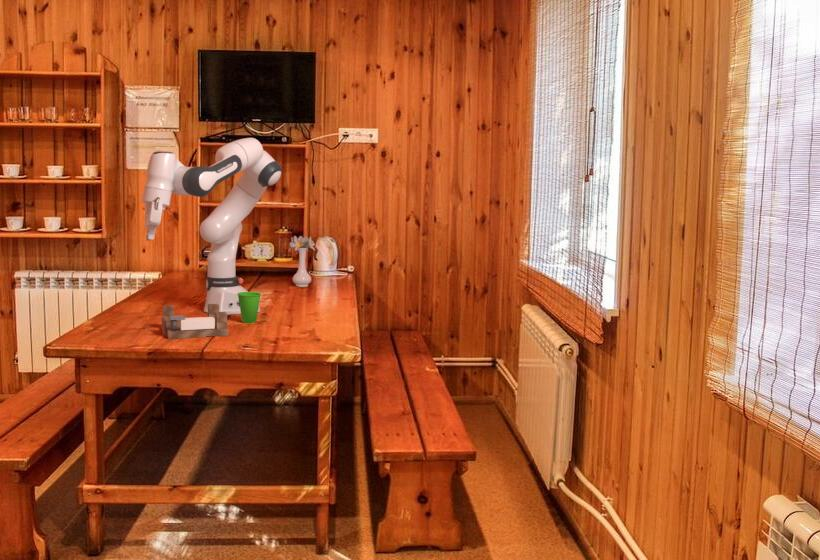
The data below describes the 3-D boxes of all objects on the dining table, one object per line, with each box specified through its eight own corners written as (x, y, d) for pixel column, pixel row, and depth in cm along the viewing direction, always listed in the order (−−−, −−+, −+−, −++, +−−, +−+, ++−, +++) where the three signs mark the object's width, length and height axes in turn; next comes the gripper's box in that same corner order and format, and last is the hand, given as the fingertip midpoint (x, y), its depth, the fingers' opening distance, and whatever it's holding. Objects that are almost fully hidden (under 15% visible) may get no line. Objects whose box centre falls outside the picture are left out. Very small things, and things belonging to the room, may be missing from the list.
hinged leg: (170, 330, 271) (170, 317, 270) (169, 328, 274) (169, 315, 273) (214, 328, 276) (214, 315, 276) (213, 326, 279) (213, 313, 279)
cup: (249, 325, 297) (249, 296, 295) (231, 322, 301) (231, 293, 300) (266, 322, 304) (266, 293, 303) (248, 318, 309) (248, 290, 307)
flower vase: (312, 283, 406) (312, 234, 402) (316, 288, 388) (317, 237, 384) (286, 283, 403) (286, 233, 399) (289, 288, 385) (289, 237, 381)
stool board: (218, 324, 296) (218, 303, 295) (227, 335, 278) (227, 313, 277) (159, 327, 288) (159, 305, 287) (165, 339, 270) (165, 316, 269)
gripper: (169, 198, 256) (162, 240, 255) (163, 203, 275) (157, 242, 274) (148, 194, 253) (141, 237, 253) (144, 199, 272) (138, 239, 272)
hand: (149, 240), depth 264 cm, fingers open, 8 cm apart
